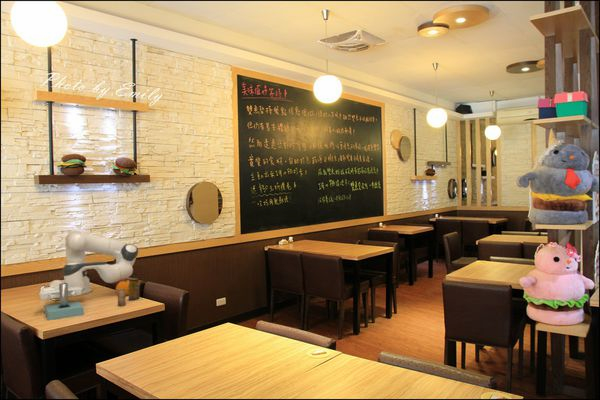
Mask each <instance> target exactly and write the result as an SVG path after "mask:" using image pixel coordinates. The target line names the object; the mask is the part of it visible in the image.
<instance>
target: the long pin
mask: <svg viewBox="0 0 600 400" xmlns="http://www.w3.org/2000/svg"><path fill="white" fill-rule="evenodd" d="M68 302H69V297H68V283H61V284H59V303H58V304H60V308H66V307H68Z"/></svg>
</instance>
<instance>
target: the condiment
mask: <svg viewBox="0 0 600 400" xmlns="http://www.w3.org/2000/svg"><path fill="white" fill-rule="evenodd" d="M139 279H140V278H138V277H137V278H135V277H133V278H129V279H128V280H129V295H128V297H125V300H128V301H129V302H132V301H135V302H136V301H139V300H140V301H141V300H143V298H141V297H140V282H139Z"/></svg>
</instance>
